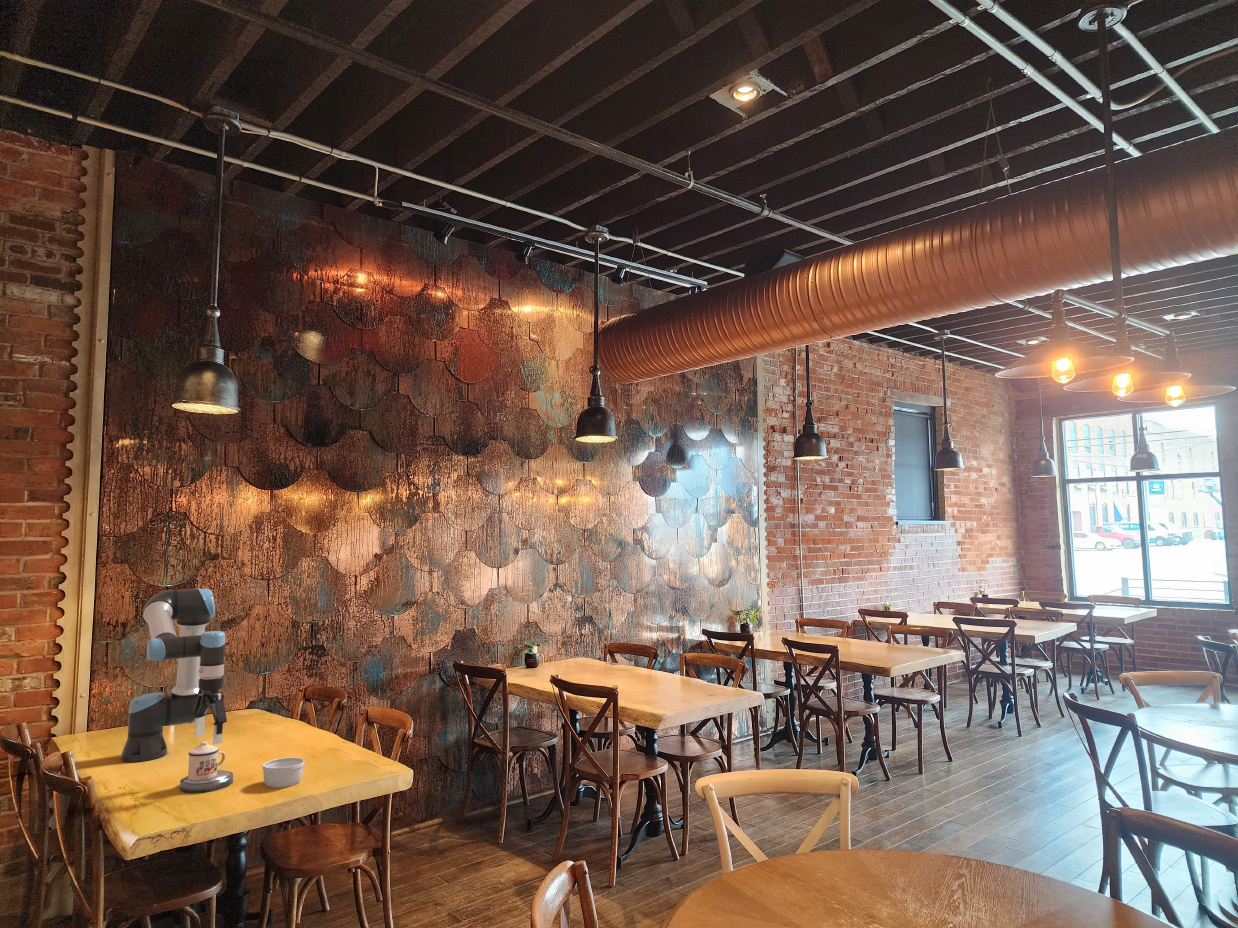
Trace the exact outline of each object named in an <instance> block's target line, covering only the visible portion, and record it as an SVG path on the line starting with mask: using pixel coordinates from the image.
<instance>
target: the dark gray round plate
mask: <svg viewBox="0 0 1238 928" xmlns="http://www.w3.org/2000/svg"><path fill="white" fill-rule="evenodd" d="M233 783H234V772H232V771H228V770H225V769H217V775H216V776H215V777H213V778H211V779H208V780H202V781H191V780H189V779H188V775H187V776H184V777H183V778H181V779H180V780H179V791H180V792H182V793H184V794H201V793H203V794H204V793H208V792H214V791H219V790H223V789H225V788H227V787H229V786H231V785H232V784H233ZM230 784H231V785H230Z"/></svg>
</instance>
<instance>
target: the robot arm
mask: <svg viewBox="0 0 1238 928" xmlns="http://www.w3.org/2000/svg"><path fill="white" fill-rule="evenodd" d="M215 614H216V607H215V598H214V593H213V592H212V590H211V589H208V588H200V587H199V588H186V589H167V590H163V591H161V592H158V593H156V594H154V595H152V597H150V598H149V599H148V600H147V602H146V603H145V604H144V606H143V609H142V616H143V620H144V621H145V623H146V624H147V625H148V628H149V633H150V639H149V640H147V643H146V658H147V660H149V661H150V662H151V661H158V662H159V661H166V660H167V661H169V660H175V659H176V660H177V669H176V670H177V673H176V684H175V686H174V687H173V688H172V689H171V693H170V694H169V695H166V694H165V692H163V691H158V692H150V693H146V694H142V695H139V696H136V697H134V698H133V699H132V700H130V702H129V708H128V727H127V739H126V741H125V744H124V746H123V748H122V751H121V755H120V760H121V762H126V763H138V762H147V761H152V760H156V759H159V758H162V757H164V756H166V755H167V754H168V745H167V743H166V739H165V737H164V733H163V731H164V727H171V726H177V725H183V724H185V725H186V724H193V723H195V730H194V731H195V732H194V733H195V734H194V737H195V738H196V739H197V738H200V737H205V729H206V727H205V726H206V714H207V711H208V708H210V710H211V714H212V716H213V721H214V722H213V724H212V725H213V731H212V732H213V734H212V736H213V738H212V745H213V746H216V745H219V744H222V743H223V735H224V734H223V731H224V724H225V723H227V722H228V719H227V713H226V706H225V701H224V692H222V693H219V690H220V689H222V688H223V687H224V675H225V651H226V650H225V648H226V633H225V632H224V631H221V630H210V631H205V630H206V626H207V625H209V624H210V619H213V618H214V617H215ZM174 620H175V621H176V625H177V626H178V627H179V630H180V631H179V636H177V632H176V629H175V626H174Z"/></svg>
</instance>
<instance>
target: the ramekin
mask: <svg viewBox="0 0 1238 928" xmlns="http://www.w3.org/2000/svg"><path fill="white" fill-rule="evenodd" d="M305 764H306V763H305V759H304V758H301V757H290V756H289V757H281V758H275V759H272V760H271V759H270V760H269V761H266V762H265V763H263V764H262V771H263V782H264V784H265V786H266V787H268V788H271V789H282V788H289V787H292V786H295V785H297V784H299V783H300V782H301V780H302V778H303V774H304V773H303V772H304V767H305Z"/></svg>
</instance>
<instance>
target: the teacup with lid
mask: <svg viewBox="0 0 1238 928" xmlns="http://www.w3.org/2000/svg"><path fill="white" fill-rule="evenodd" d="M219 754H221V755H222V757H221V760H220V761H219V763H218V757H219ZM225 761H226V753H225V752H224V751H222V750H220V749H219V747H218V746H216V745H213V744H209V743H208V741H201V742H200V745H197V746H196V747H195V748H191V749H190V750H189V751H188V769H187V770H188V771H187V772H188V773H187V776H188V779H189V780H191V781H202V780H208V779H211V778H213V777H215V776H216V775H217V770H218V767H220V766H222V764H224V762H225Z"/></svg>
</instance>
